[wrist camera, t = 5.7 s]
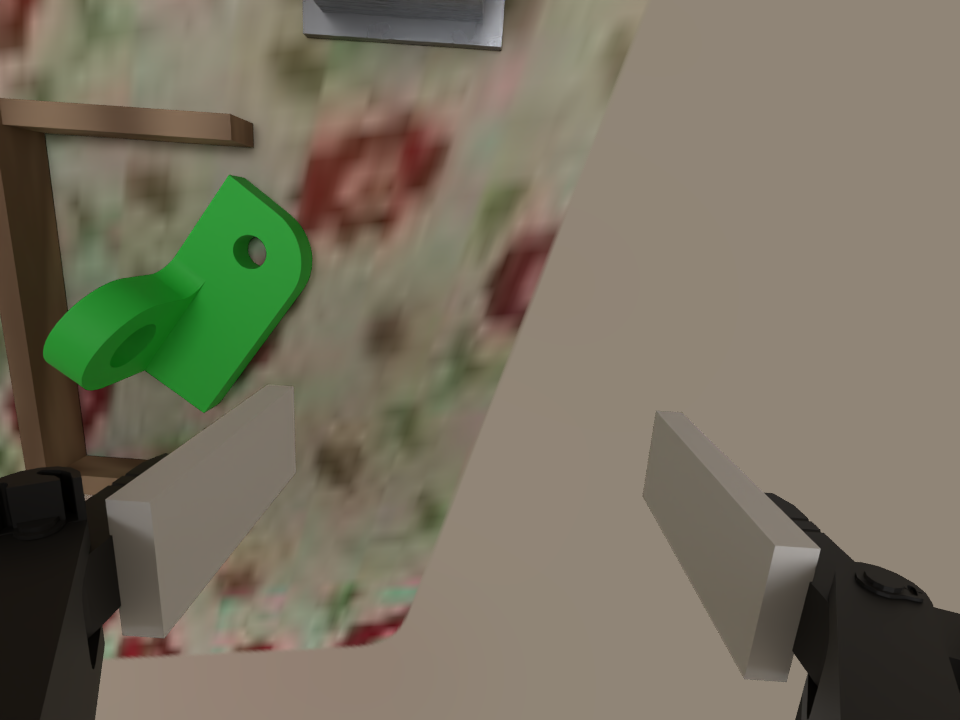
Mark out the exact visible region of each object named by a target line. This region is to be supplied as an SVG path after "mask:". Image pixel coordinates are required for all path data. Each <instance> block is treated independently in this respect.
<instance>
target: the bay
mask: <svg viewBox="0 0 960 720" xmlns="http://www.w3.org/2000/svg"><path fill="white" fill-rule="evenodd" d="M44 133H51V134H65V135H80V136H94V137H109V138H123V139H138V140H152V141H167V142H181V143H195V144H210V145H224V146H239V147H253V148H254V145H253V124H252V123H250V122H248V121H245V120H243V119H241V118H238V117H236V116H234V115H231V114H223V113H208V112H194V111H179V110H165V109H150V108H136V107H121V106H107V105H92V104H78V103H63V102H49V101H34V100H20V99H5V98H0V315H1V321H2V327H3V333H4V340H5V346H6V352H7V358H8V364H9V370H10V376H11V383H12V389H13V395H14V401H15V407H16V413H17V419H18V425H19V432H20V438H21V444H22V450H23V456H24V462H25V468H26V470H30V469H35V468H40V467H54V466H61V467H71V468H74V469H76V470H78V471H80V473H81V477H82V484H83V491H84V494H88V495H95V494H96V493H98V492H99V491H101V490H102V489H104V488H105V487H107V486H108V485H110V486H111V485H112V483H113V482H114V481H116V480H117V479H118V478H120V477H121V476H125V475H126V473H127V472H129V471H130V470H132V469H133V468H135V467H136V466H138V465H139V464H141V463H142V462H145V461H147V460H140V459H126V458H112V457H99V456H86V449H85V441H84V434H83V426H82V418H81V411H80V403H79V395H78V388H77V383H76V382H74V381H73V380H72V379H70V378H69V377H67V376H66V375H64V374H63V373H62V372H60V371H59V370H57V369H56V368H54V367H53V366H52V365H50V364H49V363H47V362H46V361H45V359H44V357H43V349H44V345H45V342H46V340H47V337H48V336H49V334H50V332H51V331H52V329H53V328H54V326H55V325H56V324H57V323H58V321H59V320H60V319H61V318H62V317H63V316H64V315H65V314H66V313H67V312H68V311H67V303H66V296H65V288H64V280H63V273H62V265H61V257H60V250H59V242H58V234H57V227H56V219H55V211H54V204H53V196H52V188H51V181H50V173H49V165H48V158H47V150H46V142H45V135H44Z"/></svg>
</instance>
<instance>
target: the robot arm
mask: <svg viewBox="0 0 960 720" xmlns="http://www.w3.org/2000/svg"><path fill="white" fill-rule="evenodd" d="M295 473H296V456H295V419H294V386H284V385H269V384H267V385H266V386H265V387H263V388H262V389H260V390H259V391H258V392H256V393H255V394H253V395H252V396H250V397H249V398H248V399H246V400H245V401H243V402H242V403H241V404H239V405H238V406H236V407H235V408H234V409H232V410H231V411H229V412H228V413H227V414H225V415H224V416H222V417H221V418H219V419H218V420H217V421H215V422H214V423H212V424H211V425H210V426H208V427H207V428H205V429H204V430H203V431H201V432H200V433H198V434H197V435H195V436H194V437H193V438H191V439H190V440H188V441H187V442H186V443H184V444H183V445H181V446H180V447H179V448H177V449H176V450H174V451H173V452H172V453H170V454H166V453H165V454H162V455H160V456H157V457H155V458H152V459H150V460H147V461H145V462H142V463H141V464H139V465H138V466H136V467H135V468H133V469H132V470H130V471H129V472H127V473H126V475H125V476H121V477H120V478H118V479H117V480H116V481H114V482H113V483H112V485H111V486H110V485H108V486H107V487H105V488H104V489H102V490H101V491H99V492H98V493H96V494H95V495H93V496H92V497H90V498H89V499H88V500H86V501H85V498H84V491H83V484H82V477H81V473H80V471H78V470H76V469H74V468H71V467H61V466H54V467H40V468H35V469H30V470H25V471H20V472H17V473H14V474H10V475H7V476H4V477H1V478H0V720H95V715H96V707H97V699H98V691H99V684H100V676H101V669H102V661H103V654H104V646H105V642H104V635H103V628H102V625H103V624H104V623H105V622H106V621H107V620H108V619H109V618H110V617H111V616H112V615H113V614H114V612H115V611H116V610H117V609H118V608H119V611H120V619H121V626H122V634H123V635H125V636H140V637H154V638H165V637H166V635H167V634H168V633H169V632H170V630H171V629H172V628H173V627H174V625H175V624H176V623H177V622H178V620H179V619H180V618H181V617H182V615H183V614H184V613H185V612H186V610H187V609H188V608H189V606H190V605H191V604H192V603H193V601H194V600H195V599H196V598H197V596H198V595H199V594H200V593H201V591H202V590H203V589H204V588H205V586H206V585H207V584H208V583H209V581H210V580H211V579H212V577H213V576H214V575H215V574H216V572H217V571H218V570H219V569H220V567H221V566H222V565H223V564H224V562H225V561H226V560H227V559H228V557H229V556H230V555H231V554H232V552H233V551H234V550H235V549H236V547H237V546H238V545H239V543H240V542H241V541H242V540H243V538H244V537H245V536H246V535H247V533H248V532H249V531H250V530H251V528H252V527H253V526H254V525H255V523H256V522H257V521H258V520H259V518H260V517H261V516H262V514H263V513H264V512H265V511H266V509H267V508H268V507H269V506H270V504H271V503H272V502H273V501H274V499H275V498H276V497H277V496H278V494H279V493H280V492H281V491H282V489H283V488H284V487H285V485H286V484H287V483H288V482H289V480H290V479H291V478H292V477H293V475H294V474H295ZM643 498H644V500H645V501H646V503H647V505H648V507H649V509H650V510H651V512H652V514H653V516H654V518H655V519H656V521H657V523H658V525H659V526H660V528H661V530H662V532H663V534H664V536H665V537H666V539H667V541H668V543H669V545H670V546H671V548H672V550H673V552H674V554H675V555H676V557H677V559H678V561H679V562H680V564H681V566H682V568H683V570H684V571H685V573H686V575H687V577H688V579H689V581H690V582H691V584H692V586H693V588H694V590H695V591H696V593H697V595H698V597H699V598H700V600H701V602H702V604H703V606H704V608H705V609H706V611H707V613H708V615H709V617H710V618H711V620H712V622H713V624H714V625H715V627H716V629H717V631H718V633H719V634H720V636H721V638H722V640H723V642H724V644H725V645H726V647H727V649H728V651H729V653H730V654H731V656H732V658H733V660H734V662H735V663H736V665H737V667H738V669H739V671H740V672H741V674H742V676H743V678H744V679H750V680H764V681H778V682H787V678H788V674H789V670H790V667H791V663H792V659H793V655H794V654H795V656H796V657H797V658H798V660H799V661H800V662H801V664H802V665H803V667H804V668H805V670H806V671H807V672H808V675H807V678H806V682H805V686H804V690H803V693H802V697H801V701H800V704H799V708H798V712H797V716H796V719H795V720H960V614H958V613H954V612H950V611H946V610H942V609H938V608H935V607H933V604H932V602H931V601H930V599H929V597H928V596H927V594H926V593H925V592H924V591H923V590H921V589H920V588H919V587H918V586H917V585H915V584H914V583H913V582H911V581H909V580H907V579H906V578H904V577H902V576H900V575H898V574H897V573H894V572H892V571H889V570H886V569H884V568H881V567H879V566H875V565H871V564H866V563H862V562H854V561H853V560H852V559H851V558H850V557H849V556H848V555H847V554H846V553H845V552H844V551H842V550H841V549H840V548H839V547H838V546H837V545H836V544H835V543H834V542H833V541H832V540H831V539H830V538H829V537H828V536H826V535H825V534H824V533H821V532H820V529H819V528H818V527H817V526H816V525H814V524H813V523H812V522H810V521H809V520H808V518H807V517H806V516H805V515H804V514H803V513H802V512H800V511H799V510H798V509H797V508H796V507H795V506H794V505H792V504H791V503H789V502H787V501H785V500H784V499H782V498H780V497H778V496H777V495H775V494H773V493H764V492H762V491H761V490H760V489H759V487H757V486H756V485H755V484H754V483H753V482H752V481H751V480H750V479H749V478H748V477H747V476H746V475H745V474H744V473H743V472H742V471H741V470H740V469H739V468H738V467H737V466H736V465H735V464H734V463H733V462H732V461H731V460H730V459H729V458H728V457H727V456H726V455H725V454H724V453H723V452H722V451H721V450H720V449H719V448H718V447H717V446H716V445H715V444H714V443H713V442H712V441H711V440H709V438H708V437H707V436H705V434H704V433H703V432H702V431H701V430H700V429H699V428H698V427H697V426H695V425H694V423H693V422H691V421H690V420H689V419H688V418H687V417H686V416H685V415H684V414H683V413H682V412H668V411H656V414H655V420H654V426H653V433H652V440H651V446H650V452H649V459H648V465H647V471H646V478H645V484H644V491H643Z"/></svg>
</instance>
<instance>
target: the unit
mask: <svg viewBox="0 0 960 720" xmlns="http://www.w3.org/2000/svg"><path fill="white" fill-rule="evenodd" d="M504 3H505V0H303V34H304V35H305V36H306V37H308V38H323V39H337V40H352V41H367V42H381V43H396V44H411V45H425V46H440V47H455V48H469V49H484V50H499V51H501V47H502V32H503V18H504Z"/></svg>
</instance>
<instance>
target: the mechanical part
mask: <svg viewBox="0 0 960 720" xmlns="http://www.w3.org/2000/svg"><path fill="white" fill-rule="evenodd" d="M254 236H255V237H257V238H259V239H260V240H261V241H262V242H263V244H264V246H265V248H266V259H265V262H264V263H263V264H262V265H261V266H259V265H257V264H256V263H254V262H253V261H252V259H251V258H250V256H249V253H248V245H249V242H250V240H251V239H252V238H253V237H254ZM311 269H312V252H311V247H310V243H309V240H308V238H307V236H306V234H305V232H304V230H303V229H302V227H301V226H300V224H299V223H298V222H297V221H296V220H295V219H294V218H293V217H292V216H291V215H290V214H289V213H288V212H286V211H285V210H284V209H283V208H281V207H280V206H279V205H278V204H276V203H275V202H274V201H273V200H271V199H270V198H269V197H268V196H266V195H265V194H264V193H263V192H261V191H260V190H259V189H258V188H256V187H255V186H254V185H253V184H251V183H250V182H249V181H248V180H246V179H245V178H242V177H237V176H232V175H229V176H228V177H227V179H226V180H225V182H224V183H223V185H222V186H221V188H220V189H219V191H218V192H217V194H216V195H215V197H214V198H213V200H212V201H211V203H210V204H209V206H208V207H207V209H206V210H205V212H204V213H203V215H202V216H201V218H200V219H199V221H198V222H197V224H196V225H195V227H194V229H193V230H192V232H191V233H190V235H189V236H188V238H187V239H186V241H185V242H184V244H183V245H182V247H181V248H180V250H179V251H178V253H177V254H176V256H175V257H174V258H173V260H172V261H171V262H170V263H169V264H168V265H167V266H166V267H164V268H163V269H162V270H160V271H159V272H157V273H154V274H151V275H144V276H137V277H130V278H123V279H119V280H115V281H112V282H110V283H108V284H105V285H103V286H101V287H99V288H98V289H96V290H94V291H93V292H91V293H90V294H88V295H87V296H85V297H84V298H83V299H81V300H80V301H79V302H78V303H76V304H75V305H74V306H73V307H72V308H71V309H70V310H69V311H68V312H67V313H66V314H65V315H64V316H63V317H62V318H61V319H60V320H59V321H58V323H57V324H56V325H55V326H54V328H53V329H52V331H51V332H50V334H49V336H48V337H47V340H46V342H45V345H44V349H43V357H44V359H45V361H46V362H47V363H49V364H50V365H52V366H53V367H54V368H56V369H57V370H59V371H60V372H62V373H63V374H64V375H66V376H67V377H69V378H70V379H72V380H73V381H74V382H76V383H77V384H79V385H80V386H82V387H83V388H84V389H86V390H97V389H101V388H103V387H106V386H108V385H111V384H113V383H115V382H118V381H120V380H123V379H125V378H128V377H130V376H132V375H135V374H137V373H140V372H142V371H144V370H145V371H146V372H148V373H149V374H150V375H152V376H153V377H155V378H156V379H157V380H159V381H160V382H162V383H163V384H164V385H166V386H167V387H168V388H170V389H171V390H173V391H174V392H175V393H177V394H178V395H180V396H181V397H182V398H184V399H185V400H187V401H188V402H189V403H191V404H192V405H193V406H195V407H196V408H198V409H199V410H200V411H202V412H203V413H205V412H206V411H208V410H210V409H211V408H213V407H214V406H216V405H217V404H219V403H220V402H221V400H222V399H223V398H224V396H225V395H226V394H227V392H228V391H229V390H230V388H231V387H232V385H233V384H234V383H235V381H236V380H237V379H238V377H239V376H240V375H241V373H242V372H243V371H244V369H245V368H246V366H247V365H248V364H249V362H250V361H251V360H252V358H253V357H254V356H255V354H256V353H257V352H258V350H259V349H260V347H261V346H262V345H263V343H264V342H265V341H266V339H267V338H268V337H269V335H270V334H271V333H272V331H273V330H274V328H275V327H276V326H277V324H278V323H279V322H280V320H281V319H282V318H283V316H284V315H285V314H286V312H287V311H288V309H289V308H290V307H291V305H292V304H293V303H294V301H295V300H296V299H297V297H298V296H299V295H300V293H301V292H302V290H303V289H304V287H305V286H306V284H307V282H308V280H309V277H310V274H311Z"/></svg>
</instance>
